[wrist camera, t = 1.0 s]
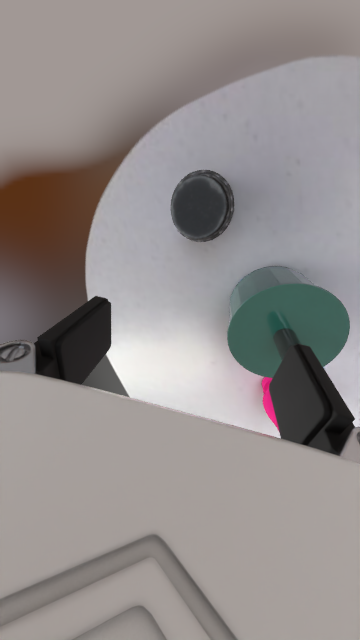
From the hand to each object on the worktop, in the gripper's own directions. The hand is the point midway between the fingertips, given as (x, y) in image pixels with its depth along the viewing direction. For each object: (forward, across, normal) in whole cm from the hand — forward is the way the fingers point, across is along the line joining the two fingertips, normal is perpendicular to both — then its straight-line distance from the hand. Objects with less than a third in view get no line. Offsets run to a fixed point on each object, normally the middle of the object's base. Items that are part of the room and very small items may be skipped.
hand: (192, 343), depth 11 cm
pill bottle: (+22, +2, -6) cm, 23 cm away
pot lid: (+13, -10, +5) cm, 17 cm away
